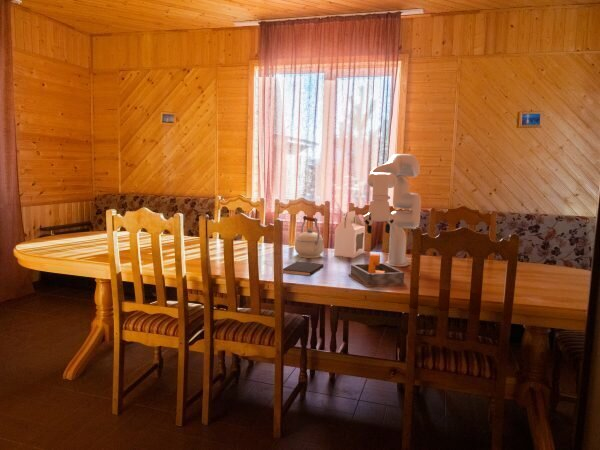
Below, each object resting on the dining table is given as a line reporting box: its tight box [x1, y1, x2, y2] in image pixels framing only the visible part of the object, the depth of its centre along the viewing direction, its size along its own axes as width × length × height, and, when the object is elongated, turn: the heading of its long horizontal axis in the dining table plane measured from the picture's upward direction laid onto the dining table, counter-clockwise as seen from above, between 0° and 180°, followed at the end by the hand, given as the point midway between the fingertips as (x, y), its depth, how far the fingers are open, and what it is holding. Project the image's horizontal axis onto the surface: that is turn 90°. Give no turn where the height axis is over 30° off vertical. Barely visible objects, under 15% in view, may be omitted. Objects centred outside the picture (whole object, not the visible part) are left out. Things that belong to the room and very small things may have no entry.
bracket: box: [368, 253, 385, 274], centre depth 234 cm, size 11×7×12 cm, turn 164°
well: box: [348, 262, 407, 289], centre depth 234 cm, size 20×24×6 cm
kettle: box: [294, 215, 325, 259], centre depth 291 cm, size 25×18×25 cm
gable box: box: [333, 210, 366, 258], centre depth 302 cm, size 22×13×28 cm, turn 155°
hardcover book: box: [282, 261, 324, 276], centre depth 255 cm, size 16×23×2 cm
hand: (378, 232), depth 231 cm, fingers open, 9 cm apart
